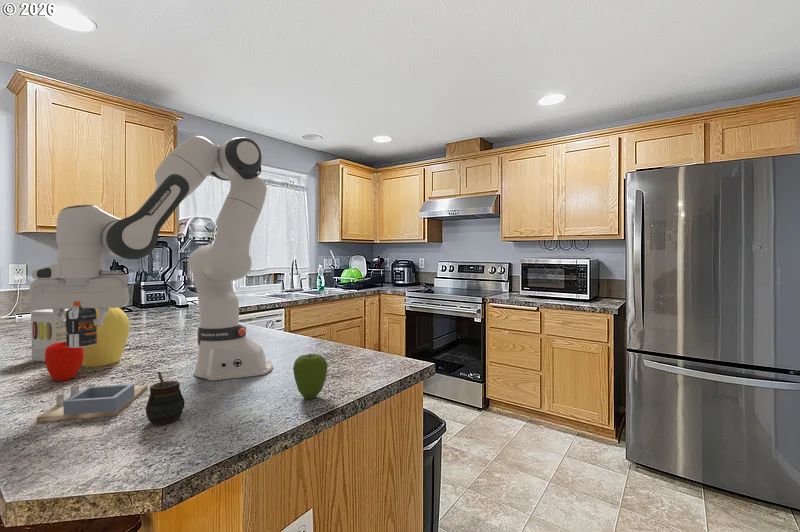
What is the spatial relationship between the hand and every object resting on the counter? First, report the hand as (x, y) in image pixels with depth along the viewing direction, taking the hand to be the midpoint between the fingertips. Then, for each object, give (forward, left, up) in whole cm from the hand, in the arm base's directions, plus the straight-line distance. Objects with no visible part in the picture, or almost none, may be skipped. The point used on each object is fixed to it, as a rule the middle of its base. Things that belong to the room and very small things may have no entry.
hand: (81, 326), depth 99 cm
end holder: (-8, +8, -18) cm, 21 cm away
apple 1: (+14, -20, -18) cm, 30 cm away
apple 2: (-55, +11, -18) cm, 59 cm away
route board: (-5, +4, -18) cm, 19 cm away
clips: (0, +4, -17) cm, 18 cm away
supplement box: (+31, -48, -18) cm, 60 cm away
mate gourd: (-24, +18, -18) cm, 35 cm away
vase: (+13, -37, -18) cm, 44 cm away
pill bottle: (0, 0, -5) cm, 5 cm away
